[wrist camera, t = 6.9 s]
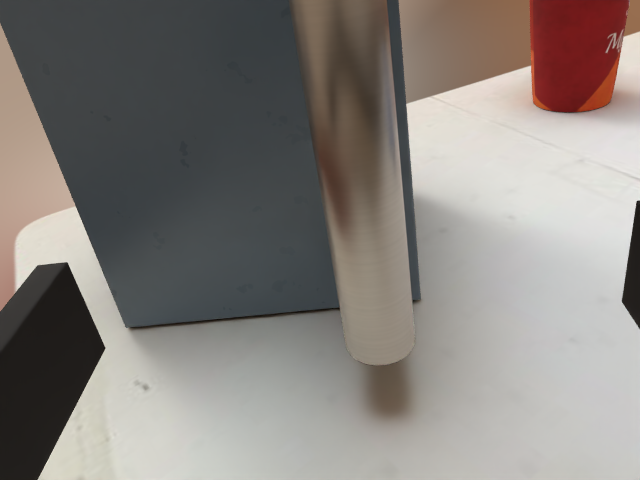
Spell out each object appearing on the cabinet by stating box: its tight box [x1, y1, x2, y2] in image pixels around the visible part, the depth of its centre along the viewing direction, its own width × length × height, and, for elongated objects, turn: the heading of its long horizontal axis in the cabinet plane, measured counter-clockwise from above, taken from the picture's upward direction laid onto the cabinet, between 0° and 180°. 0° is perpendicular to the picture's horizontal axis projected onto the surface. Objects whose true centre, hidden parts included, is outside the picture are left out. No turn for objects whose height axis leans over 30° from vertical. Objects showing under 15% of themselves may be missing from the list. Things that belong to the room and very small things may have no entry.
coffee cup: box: [530, 0, 630, 112], centre depth 44 cm, size 8×8×15 cm
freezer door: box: [0, 0, 421, 366], centre depth 21 cm, size 8×15×20 cm, turn 88°
